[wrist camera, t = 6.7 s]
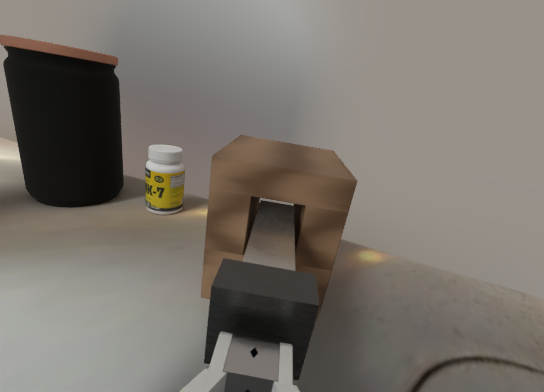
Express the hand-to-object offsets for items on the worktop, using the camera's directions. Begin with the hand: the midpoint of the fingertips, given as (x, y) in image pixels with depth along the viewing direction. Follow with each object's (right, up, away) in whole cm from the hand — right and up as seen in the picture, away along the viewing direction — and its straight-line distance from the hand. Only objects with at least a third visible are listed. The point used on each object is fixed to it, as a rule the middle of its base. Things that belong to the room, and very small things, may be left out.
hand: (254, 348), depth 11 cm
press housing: (0, -1, +16) cm, 17 cm away
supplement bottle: (-14, +4, +26) cm, 30 cm away
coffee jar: (-26, +6, +26) cm, 37 cm away
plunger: (0, 0, +7) cm, 7 cm away
